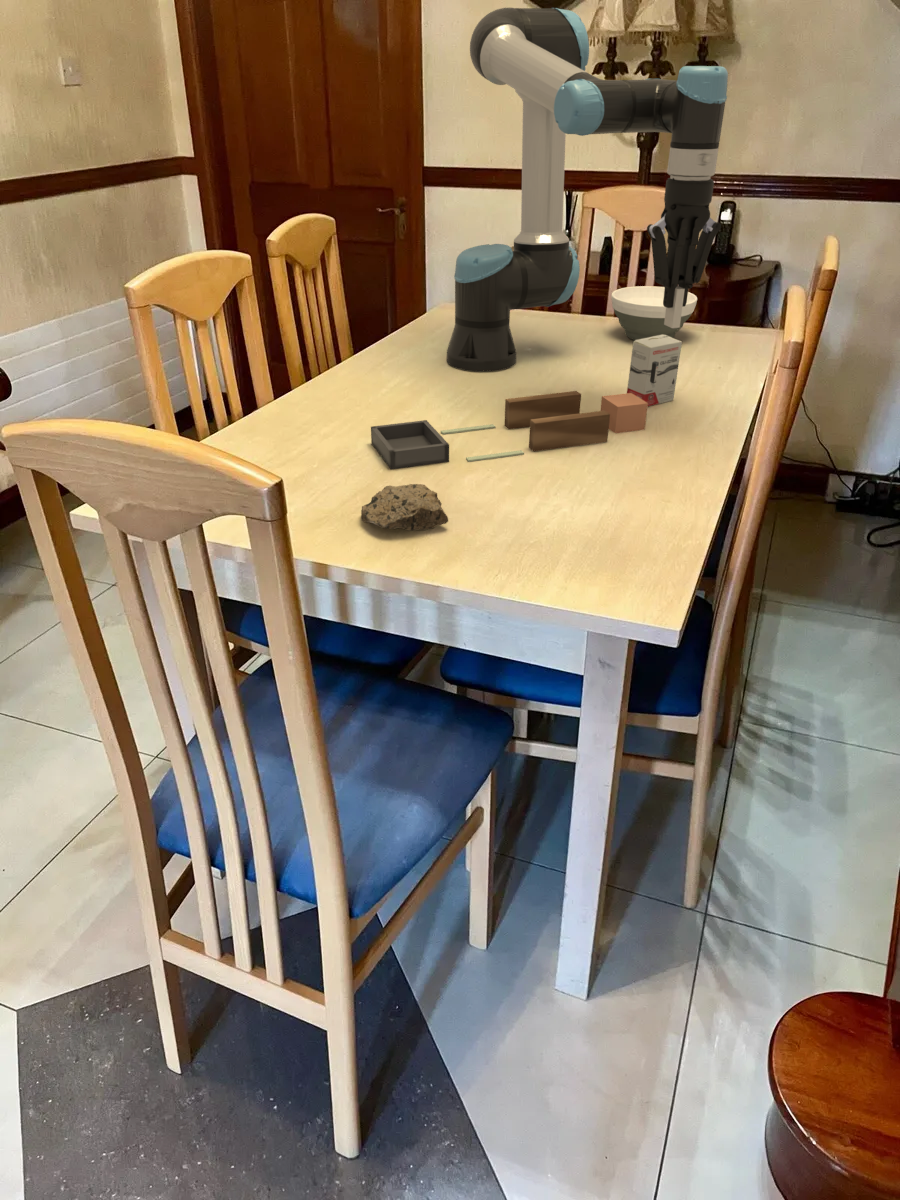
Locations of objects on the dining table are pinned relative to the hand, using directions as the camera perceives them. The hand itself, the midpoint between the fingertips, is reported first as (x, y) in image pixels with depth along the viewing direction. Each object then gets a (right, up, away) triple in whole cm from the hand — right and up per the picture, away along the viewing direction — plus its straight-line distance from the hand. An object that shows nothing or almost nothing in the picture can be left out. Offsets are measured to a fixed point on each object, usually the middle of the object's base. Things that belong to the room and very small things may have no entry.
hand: (671, 325), depth 157 cm
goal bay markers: (-33, -21, -1) cm, 39 cm away
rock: (-45, -36, -26) cm, 64 cm away
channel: (-20, -18, +3) cm, 27 cm away
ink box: (0, -9, +19) cm, 21 cm away
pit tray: (-45, -23, -4) cm, 51 cm away
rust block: (-7, -16, +7) cm, 19 cm away
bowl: (+9, +14, +57) cm, 60 cm away
